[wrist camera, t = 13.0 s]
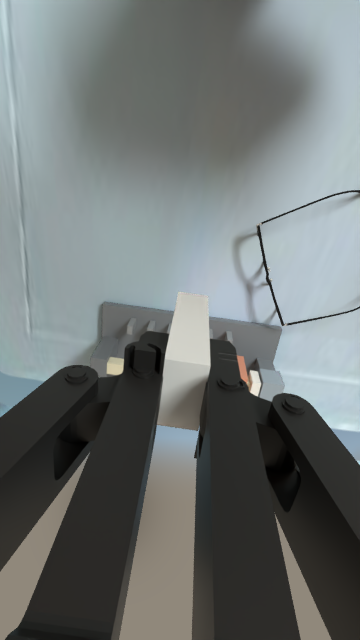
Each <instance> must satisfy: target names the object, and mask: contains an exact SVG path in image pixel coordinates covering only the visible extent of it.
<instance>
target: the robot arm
mask: <svg viewBox="0 0 360 640" xmlns="http://www.w3.org/2000/svg"><path fill="white" fill-rule="evenodd" d="M199 423H200V430H199V435H198V440H197V445H196V451H195V455H194V458H197V467H196V505H195V543H194V580H193V617H192V618H193V619H192V640H301V639H300V634H299V630H298V625H297V621H296V615H295V610H294V605H293V600H292V596H291V591H290V586H289V581H288V576H287V571H286V566H285V562H284V557H283V552H282V547H281V542H280V538H279V533H278V528H277V523H276V518H275V514H276V517H277V519H278V521H279V523H280V526H281V528H282V530H283V532H284V534H285V537H286V539H287V541H288V543H289V546H290V548H291V550H292V552H293V554H294V557H295V559H296V561H297V563H298V566H299V568H300V570H301V572H302V575H303V577H304V579H305V581H306V583H307V586H308V588H309V590H310V592H311V595H312V597H313V599H314V601H315V603H316V606H317V608H318V610H319V612H320V614H321V617H322V619H323V621H324V623H325V626H326V628H327V630H328V632H329V635H330V637H331V639H332V640H360V465H359V464H358V462H357V461H356V460H355V459H354V457H353V456H352V455H351V454H350V452H349V451H348V450H347V449H346V447H345V446H344V445H343V444H342V443H341V441H340V440H339V439H338V437H337V436H336V435H335V434H334V432H333V431H332V430H331V429H330V427H329V426H328V425H327V424H326V422H325V421H324V420H323V419H322V417H321V416H320V415H319V414H318V412H317V411H316V410H315V409H314V407H313V406H312V405H311V404H310V403H309V402H308V401H306V400H304V399H303V398H301V397H299V396H297V395H293V394H287V393H281V394H277V395H275V396H274V397H273V399H272V402H271V401H268V400H266V399H263V398H260V397H258V396H255V395H254V394H252V393H250V392H249V387H248V385H247V383H246V382H245V381H244V380H243V379H241V375H240V369H239V364H238V359H237V353H236V348H235V347H234V346H233V345H232V343H231V342H230V341H223V340H216V339H210V337H209V310H208V296H205V295H197V294H190V293H183V292H178V296H177V301H176V306H175V311H174V315H173V320H172V325H171V330H170V334H168V333H161V332H154V331H147V332H145V333H144V334H142V335H141V337H140V339H139V341H137V342H132V343H130V344H128V345H127V346H126V347H125V351H124V366H123V372H122V373H121V374H119V375H116V376H112V377H100V378H98V373H97V372H96V371H95V369H93V368H91V367H89V366H83V365H72V366H68V367H65V368H63V369H61V370H59V371H58V372H56V373H55V374H54V375H53V376H51V377H50V378H49V379H48V380H46V381H45V382H44V383H43V384H42V385H40V386H39V387H38V388H36V389H35V390H34V391H33V392H32V393H30V394H29V395H28V396H27V397H25V398H24V399H23V400H22V401H20V402H19V403H18V404H17V405H15V406H14V407H13V408H12V409H10V410H9V411H8V412H7V413H5V414H4V415H3V416H2V417H0V571H1V570H2V568H3V567H4V566H5V564H6V563H7V562H8V560H9V559H10V558H11V556H12V555H13V554H14V552H15V551H16V550H17V548H18V547H19V546H20V544H21V543H22V542H23V540H24V539H25V538H26V536H27V535H28V534H29V532H30V531H31V530H32V528H33V527H34V525H35V524H36V523H37V522H38V520H39V519H40V518H41V516H42V515H43V514H44V512H45V511H46V510H47V508H48V507H49V506H50V504H51V503H52V502H53V500H54V499H55V498H56V496H57V495H58V494H59V492H60V491H61V490H62V488H63V487H64V486H65V484H66V483H67V482H68V480H69V479H70V478H71V476H72V475H73V474H74V472H75V471H76V470H77V468H78V467H79V466H80V464H81V463H82V462H83V460H84V459H85V458H86V456H87V455H88V454H89V452H90V454H89V456H88V459H87V461H86V464H85V466H84V469H83V471H82V474H81V476H80V478H79V481H78V483H77V486H76V488H75V491H74V493H73V496H72V498H71V501H70V503H69V506H68V508H67V511H66V514H65V516H64V518H63V521H62V523H61V526H60V528H59V531H58V533H57V536H56V538H55V541H54V543H53V546H52V548H51V551H50V553H49V556H48V558H47V561H46V563H45V566H44V568H43V571H42V573H41V576H40V578H39V580H38V583H37V585H36V588H35V590H34V593H33V595H32V598H31V600H30V603H29V606H28V608H27V610H26V612H25V615H24V617H23V619H22V621H21V623H20V624H19V626H18V627H17V628H16V629H15V630H14V631H12V632H11V633H10V634H9V635H8V636H7V638H6V639H5V640H119V635H120V630H121V624H122V619H123V613H124V608H125V602H126V597H127V591H128V585H129V580H130V574H131V569H132V563H133V557H134V552H135V546H136V541H137V535H138V530H139V524H140V518H141V513H142V507H143V502H144V495H145V491H146V485H147V479H148V474H149V468H150V463H151V456H152V451H153V445H154V439H155V434H156V426H157V425H161V426H169V427H175V428H182V429H189V430H196V431H198V428H199ZM274 512H275V513H274Z"/></svg>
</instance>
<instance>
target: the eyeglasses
mask: <svg viewBox="0 0 360 640" xmlns="http://www.w3.org/2000/svg"><path fill="white" fill-rule="evenodd" d="M349 192H359V193H360V190H352V191H345V192H341V193H337V194H333V195H330V196H327V197H325V198H322V199H319V200H317V201H314V202H312V203H309V204H307V205H304V206H302V207H299V208H297V209H294V210H292V211H289V212H287V213H284V214H282V215H279V216H277V217H274V218H271V219H269V220H266V221H264V222H261V223H259V224H257V225H256V226H257V233H258V237H259V240H260V246H261V251H262V256H263V263H264V267H265V271H266V281H267V283H268V284H269V286H270V290H271V293H272V297H273V300H274V303H275V306H276V309H277V313H278V315H279V318H280V322H281V325H282V326H287V325H292V324H297V323H302V322H307V321H312V320H317V319H322V318H326V317H331V316H336V315H340V314H344V313H348V312H352V311H354V310H357V309H359V308H360V307H358V308H356V309H353V310H350V311H347V312H343V313H339V314H334V315H329V316H324V317H319V318H314V319H309V320H303V321H298V322H293V323H288V324H287V323H286V324H285V325H284V323H283V320H282V317H281V314H280V311H279V308H278V305H277V302H276V299H275V296H274V292H273V289H272V285H271V281H272V279H270V280H269V277H268V275H269V273H268V271H269V270H270V268H269V267H267V264H266V259H265V254H264V249H263V244H262V238H261V232H260V226H259V225H262V224H263V223H266V222H268V221H271V220H273V219H276V218H278V217H280V216H283V215H285V214H288V213H290V212H293V211H295V210H298V209H300V208H303V207H306V206H308V205H311V204H313V203H316V202H318V201H321V200H324V199H326V198H329V197H332V196H335V195H339V194H343V193H349Z"/></svg>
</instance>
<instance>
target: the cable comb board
mask: <svg viewBox="0 0 360 640" xmlns="http://www.w3.org/2000/svg"><path fill="white" fill-rule="evenodd" d="M173 315H174V312H173V311H166V310H159V309H152V308H145V307H138V306H130V305H123V304H116V303H109V302H104V304H103V310H102V340H101V341H100V343H99V344H98V346H97V348H96V349H95V351H94V353H93V354H92V356H91V358H90V367H91V368H93V369H95V371H96V372H97V373H98V376H99V377H112V376H116V375H112V374H107V362H108V360H109V358H110V357H114V358H121V359H124V351H125V347H126V346H127V345H128V344H130V343H132V342H137V341H139V339H140V337H141V335H142V334H144V333H145V332H147V331H154V332H161V333H168V334H170V330H171V325H172V320H173ZM281 332H282V329H281V327H279V326H272V325H265V324H258V323H251V322H244V321H237V320H230V319H223V318H216V317H209V337H210V339H216V340H223V341H230V342H231V343H232V345H233V346H234V347H235V348H236V353H237V356H243V357H244V362H245V366H246V371H247V376H249V372H250V370H252V371H258V373H259V369H266V370H273V371H275V368H274V365H273V360H274V357H275V353H276V350H277V346H278V343H279V339H280V335H281Z"/></svg>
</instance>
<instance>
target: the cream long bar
mask: <svg viewBox="0 0 360 640" xmlns="http://www.w3.org/2000/svg"><path fill="white" fill-rule="evenodd" d="M123 366H124V359H121V358H114V357H110V358H109V360H108V362H107V374H112V375H119V374H121V373H122V372H123ZM247 385H248V387H249V392H250V393H252V394H254V395H255V396H258V397H260V398H263V399H266V400H268V401H271V402H272V399H273V397H274V396H275V395H277V394H281V393H283V390H284V387H285V384H284V382H283V379H282V377H281V374H280V371H273V370H266V369H259V373H258V371H252V370H250V372H249V376H248V382H247Z"/></svg>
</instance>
